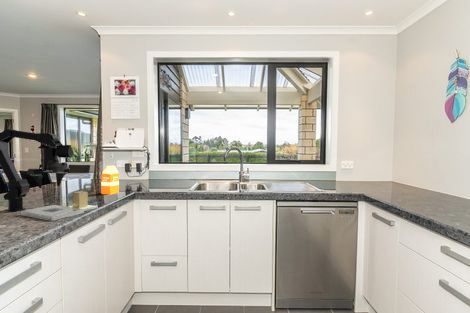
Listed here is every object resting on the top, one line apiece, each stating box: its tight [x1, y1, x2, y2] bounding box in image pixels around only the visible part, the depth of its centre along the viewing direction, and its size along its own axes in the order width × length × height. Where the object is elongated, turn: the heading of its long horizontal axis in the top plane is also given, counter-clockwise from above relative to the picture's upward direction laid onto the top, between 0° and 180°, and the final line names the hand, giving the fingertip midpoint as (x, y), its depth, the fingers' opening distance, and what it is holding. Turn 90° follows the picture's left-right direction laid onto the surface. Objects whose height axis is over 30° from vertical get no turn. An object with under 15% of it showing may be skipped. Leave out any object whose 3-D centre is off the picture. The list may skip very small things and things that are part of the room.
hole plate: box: [20, 204, 85, 222], centre depth 130 cm, size 22×16×2 cm
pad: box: [67, 204, 97, 212], centre depth 143 cm, size 12×10×1 cm
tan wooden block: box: [72, 190, 89, 208], centre depth 143 cm, size 5×5×8 cm
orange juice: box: [100, 165, 120, 195], centre depth 192 cm, size 8×9×20 cm
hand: (49, 187), depth 138 cm, fingers open, 9 cm apart
